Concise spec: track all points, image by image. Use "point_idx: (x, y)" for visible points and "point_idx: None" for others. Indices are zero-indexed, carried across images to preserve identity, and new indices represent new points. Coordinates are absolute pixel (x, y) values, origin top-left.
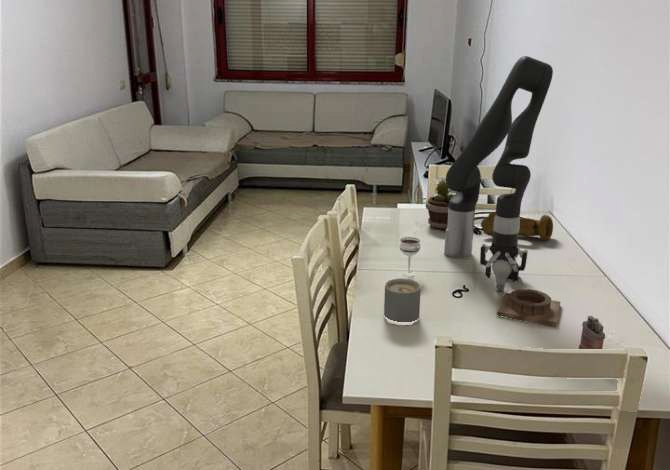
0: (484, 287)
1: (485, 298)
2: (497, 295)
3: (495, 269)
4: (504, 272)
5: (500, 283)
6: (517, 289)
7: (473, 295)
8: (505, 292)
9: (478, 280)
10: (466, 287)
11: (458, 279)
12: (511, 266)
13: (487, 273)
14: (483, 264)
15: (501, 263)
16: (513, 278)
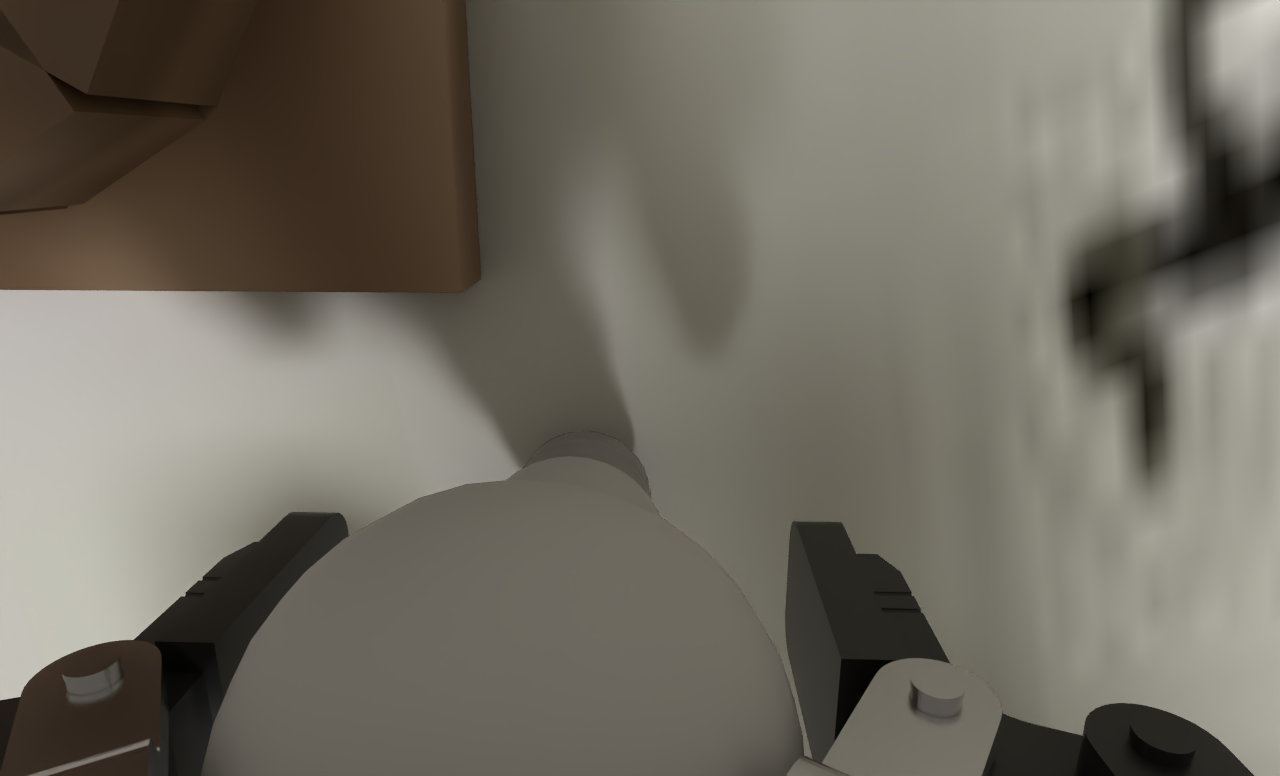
0: (829, 504)
1: (757, 88)
2: (592, 291)
3: (670, 550)
4: (406, 507)
5: (560, 462)
6: (81, 83)
7: (969, 127)
8: (450, 290)
9: None
10: (1108, 400)
11: (1248, 637)
12: (203, 765)
13: (859, 569)
14: (1067, 741)
15: (463, 722)
16: (279, 548)
